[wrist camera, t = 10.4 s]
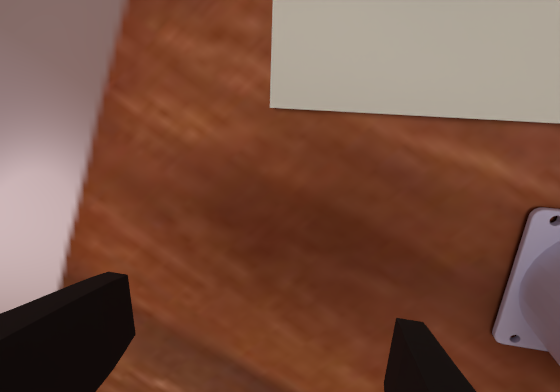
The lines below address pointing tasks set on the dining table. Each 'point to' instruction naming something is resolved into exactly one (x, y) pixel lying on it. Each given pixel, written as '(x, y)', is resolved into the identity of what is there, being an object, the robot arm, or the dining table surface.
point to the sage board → (418, 57)
